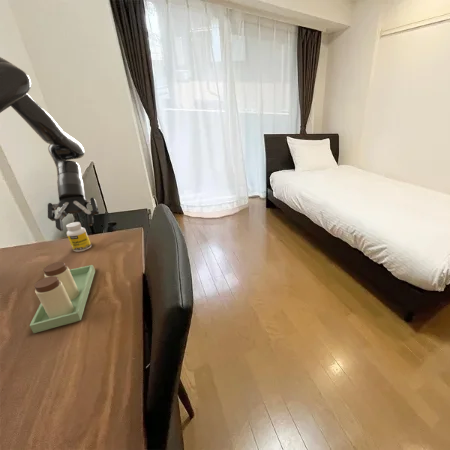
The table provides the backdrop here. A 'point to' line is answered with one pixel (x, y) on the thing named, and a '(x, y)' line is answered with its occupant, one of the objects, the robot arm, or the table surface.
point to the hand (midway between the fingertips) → (75, 227)
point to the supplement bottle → (78, 237)
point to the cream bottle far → (53, 297)
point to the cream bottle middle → (63, 277)
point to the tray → (83, 283)
